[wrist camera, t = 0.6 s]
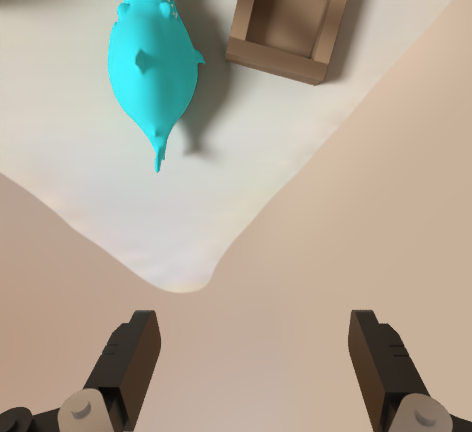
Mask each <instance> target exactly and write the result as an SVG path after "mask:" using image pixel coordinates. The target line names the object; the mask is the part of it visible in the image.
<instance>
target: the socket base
mask: <svg viewBox="0 0 472 432" xmlns="http://www.w3.org/2000/svg"><path fill="white" fill-rule="evenodd" d="M346 2H347V0H238V1H237V5H236V10H235V14H234V19H233V23H232V28H231V32H230V36H229V41H228V45H227V50H226V61H228V62H231V63H235V64H238V65H242V66H246V67H249V68H253V69H256V70H260V71H264V72H267V73H271V74H274V75H278V76H282V77H285V78H289V79H292V80H296V81H300V82H303V83H307V84H311V85H314V86H315V85H317V84H318V83H320V82H322V81H323V80H324V78H325V74H326V71H327V67H328V64H329V61H330V57H331V54H332V50H333V47H334V43H335V40H336V37H337V33H338V30H339V26H340V23H341V19H342V16H343V12H344V9H345V6H346Z"/></svg>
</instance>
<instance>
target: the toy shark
mask: <svg viewBox="0 0 472 432" xmlns="http://www.w3.org/2000/svg"><path fill="white" fill-rule="evenodd" d="M117 14H118V17H119V19H118V22H115V23H114V26H113V28H112V31H111V35H110V42H109V51H108V73H109V78H110V82H111V85H112V88H113V91H114V94H115V96H116V98H117V100H118V102H119V104H120V105H121V107H122V108H123V110H124V111H125V112H126V113H127V114H128V115H129V116H130V117H131V118H132V119H133V120H134V121H135V122H136V123H137V125H138V126H139V127H140V128H141V129H142V130H143V132H144V133H145V134H146V136H147V137H148V139H149V140H150V142H151V144H152V146H153V148H154V150H155V152H156V159H155V171H156V172H157V173H158V172H159V170H160V165H161V160H162V159H163V160H164V159H165V150H166V144H167V139H168V136H169V134H170V132H171V130H172V128H173V126H174V125H175V123H176V122H177V120H178V119H179V118H180V117H181V115H182V114H183V113H184V112H185V110H186V109H187V107H188V105H189V103H190V101H191V99H192V96H193V94H194V91H195V87H196V83H197V77H198V67H197V65H198V63H204V64H205V60H204V58H203V56H202V54H201V53H200V52H199V51H198V50H196V49H194V48H193V45H192V42H191V40H190V37H189V35H188V32H187V30H186V28H185V26H184V24H183V22H182V20H181V18H180V16H179V13H178V11H177V9H176V6H175V3H174V1H173V0H124V2H123V3H121V4H120V5H119V6H118V10H117Z"/></svg>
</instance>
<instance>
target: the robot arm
mask: <svg viewBox="0 0 472 432" xmlns="http://www.w3.org/2000/svg"><path fill="white" fill-rule="evenodd" d="M348 347H349V352H350V357H351V360H352V363H353V366H354V370H355V373H356V376H357V379H358V382H359V386H360V389H361V392H362V396H363V399H364V402H365V405H366V409H367V412H368V415H369V418H370V422H371V425H372V428H373V431H374V432H472V422H470V421H467V420H464V419H461V418H458V417H455V416H453V415H451V414H449V413H448V411H447V410H446V409H445V408H444V406H443V405H441V404H440V403H439V402H438V401H436V400H435V399H433V398H431V396H430V395H429V393H428V391H427V389H426V387H425V385H424V383H423V381H422V379H421V377H420V375H419V373H418V371H417V369H416V368H415V365H414V363H413V362H412V359H411V358H410V357H409V354H408V352H407V350H406V348H405V347H404V344H403V342H402V340H401V338H400V336H399V334H398V333H397V332H396V331H395V330H394V329H393V328H392V327H391V326H390V325H389V324H379V323H378V320H377V319H376V316H375V314H374V312H373V311H372V310H352V312H351V318H350V326H349V335H348ZM160 349H161V336H160V331H159V326H158V323H157V317H156V313H155V311H154V310H146V311H145V310H140V311H139V310H137V311H135V312H134V314H133V316H132V318H131V320H130V322H129V323H122V324H121V325H120V326H119V327H118V328H117V329H116V330H115V331H114V332H113V333H112V335H111V337H110V338H109V341H108V342H107V346H105V348H104V350H103V352H102V355H101V356H100V357H99V359H98V361H97V363H96V365H95V367H94V369H93V371H92V372H91V375H90V376H89V378H88V380H87V382H86V384H85V386H84V387H83V389H82V390H80V391H78V392H76V393H74V394H73V395H71V396H70V397H69V398H68V399H67V400H66V401H65V402H64V403H63V405H62V406H61V407H60V408H57V409H55V410H51V411H48V412H44V413H40V414H37V415H32V414H31V412H30V410H29V409H27V408H25V407H16V408H12V409H9V410H7V411H5V412H3V413H2V414H0V432H123V431H126V432H127V431H128V432H133V431H134V428H135V425H136V422H137V419H138V416H139V413H140V410H141V407H142V404H143V401H144V398H145V395H146V392H147V389H148V386H149V383H150V380H151V377H152V374H153V371H154V368H155V365H156V362H157V359H158V356H159V353H160Z"/></svg>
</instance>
